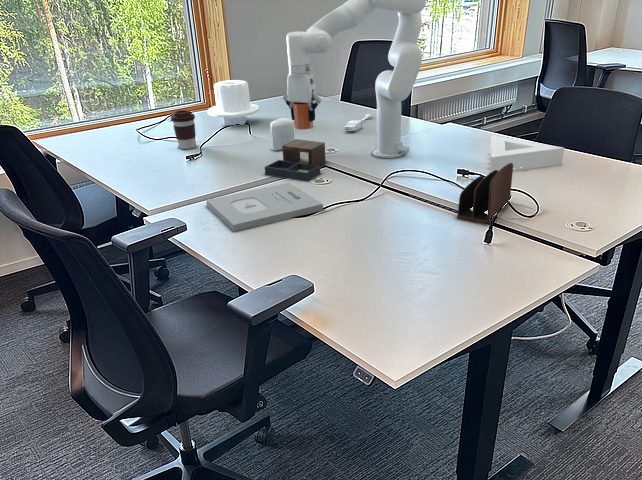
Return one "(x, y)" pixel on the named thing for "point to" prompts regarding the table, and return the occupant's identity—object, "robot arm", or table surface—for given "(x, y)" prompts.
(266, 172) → the divided tray
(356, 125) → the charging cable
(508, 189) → the letter holder
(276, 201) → the award plaque
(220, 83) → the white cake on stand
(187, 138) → the coffee cup
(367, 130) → the table surface
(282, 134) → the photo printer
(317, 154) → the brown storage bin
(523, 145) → the triangle block
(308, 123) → the cup
